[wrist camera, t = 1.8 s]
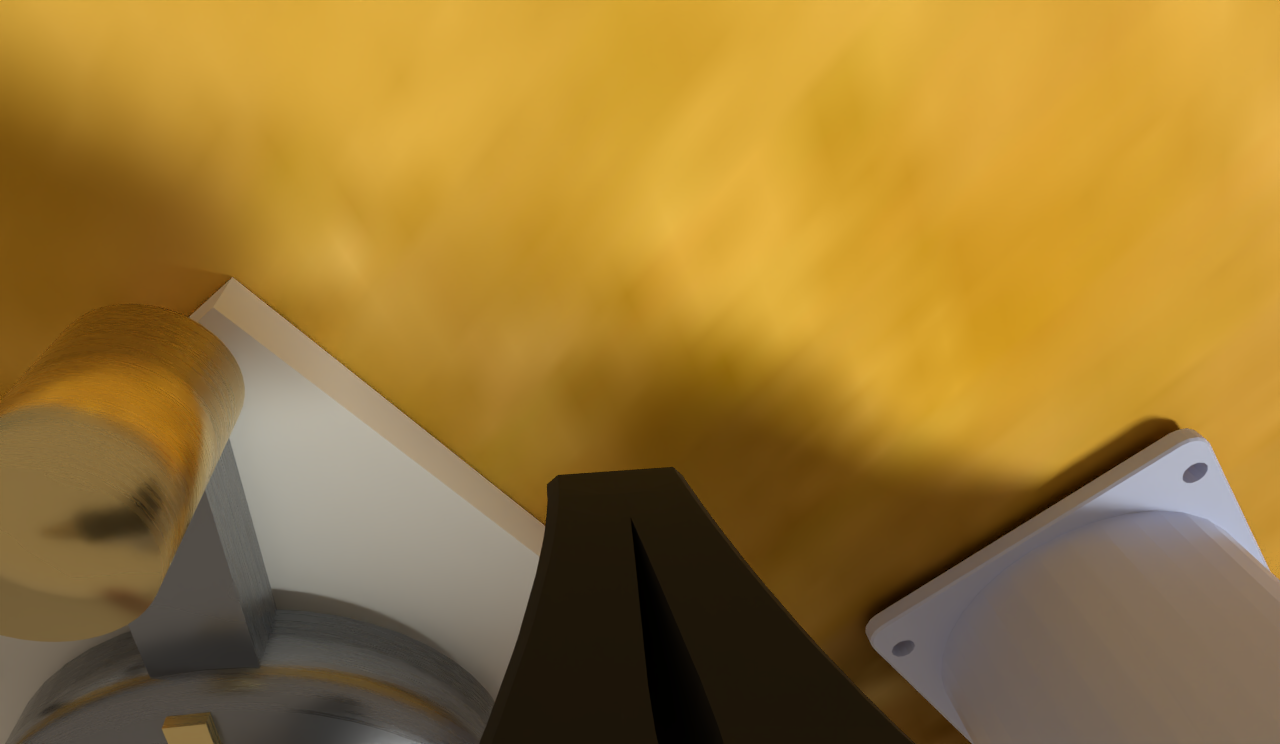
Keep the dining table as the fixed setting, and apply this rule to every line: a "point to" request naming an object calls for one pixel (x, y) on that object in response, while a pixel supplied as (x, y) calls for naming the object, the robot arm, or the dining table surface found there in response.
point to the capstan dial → (179, 565)
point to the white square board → (348, 511)
